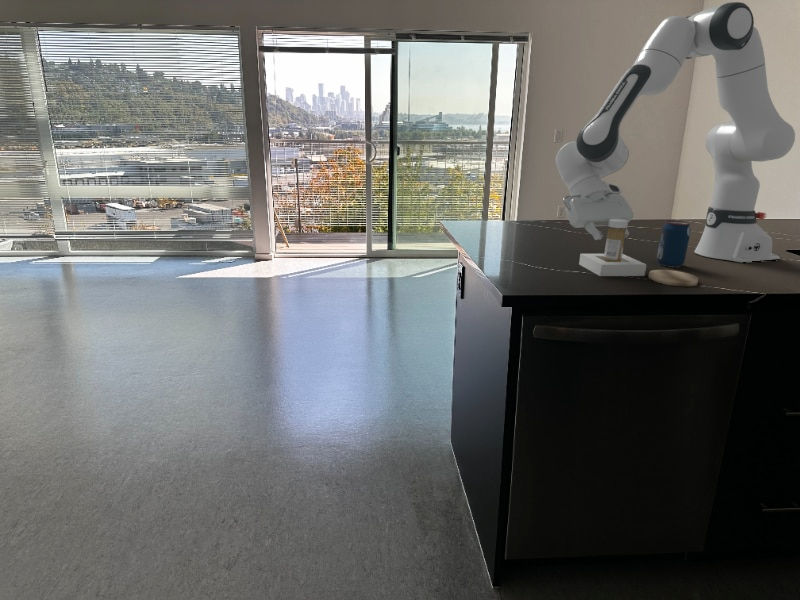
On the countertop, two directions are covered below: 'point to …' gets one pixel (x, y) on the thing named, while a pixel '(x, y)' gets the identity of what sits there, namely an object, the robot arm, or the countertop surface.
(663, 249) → the soda can
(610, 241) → the sprinkles bottle
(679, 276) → the disc
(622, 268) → the collar
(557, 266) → the countertop surface
